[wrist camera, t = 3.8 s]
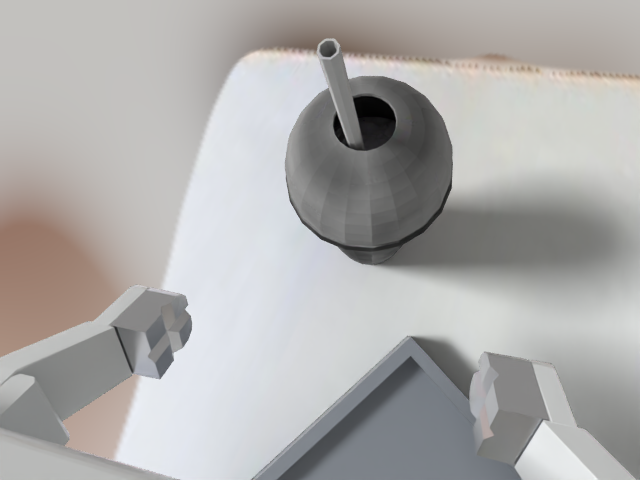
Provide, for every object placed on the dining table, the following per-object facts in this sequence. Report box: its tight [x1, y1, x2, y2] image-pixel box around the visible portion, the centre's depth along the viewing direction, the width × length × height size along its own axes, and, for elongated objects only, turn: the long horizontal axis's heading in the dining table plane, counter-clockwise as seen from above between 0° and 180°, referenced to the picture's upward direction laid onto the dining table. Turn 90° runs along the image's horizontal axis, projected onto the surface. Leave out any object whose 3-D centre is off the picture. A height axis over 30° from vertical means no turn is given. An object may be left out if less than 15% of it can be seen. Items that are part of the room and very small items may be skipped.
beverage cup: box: [285, 39, 453, 265], centre depth 17 cm, size 7×7×20 cm
